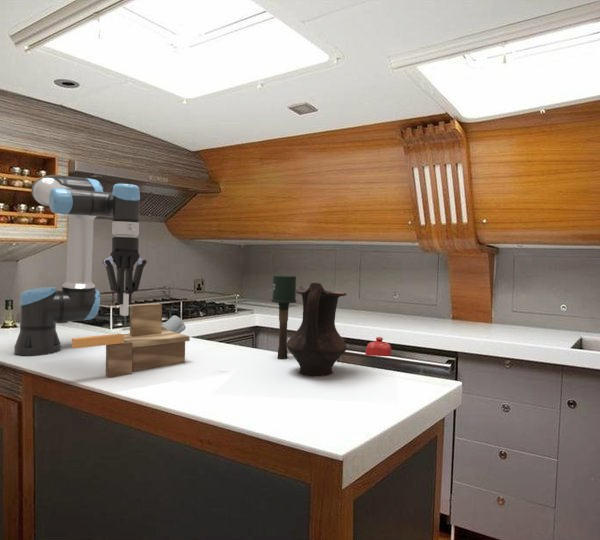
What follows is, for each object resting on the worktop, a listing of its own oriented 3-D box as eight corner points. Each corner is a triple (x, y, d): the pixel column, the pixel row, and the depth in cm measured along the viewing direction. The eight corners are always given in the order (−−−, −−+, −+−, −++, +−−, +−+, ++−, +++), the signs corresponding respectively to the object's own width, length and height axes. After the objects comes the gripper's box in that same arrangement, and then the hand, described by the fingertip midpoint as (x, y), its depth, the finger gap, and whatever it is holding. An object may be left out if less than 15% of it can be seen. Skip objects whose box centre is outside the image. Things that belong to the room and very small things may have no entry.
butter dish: (396, 358, 185) (397, 335, 184) (392, 365, 174) (393, 340, 174) (365, 356, 188) (366, 333, 188) (359, 362, 177) (360, 338, 177)
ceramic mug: (168, 342, 212) (156, 328, 212) (183, 330, 217) (171, 316, 217) (174, 337, 203) (162, 322, 203) (189, 325, 208) (178, 310, 208)
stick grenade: (281, 358, 178) (283, 274, 177) (299, 362, 173) (302, 276, 171) (264, 362, 171) (266, 275, 170) (283, 366, 166) (285, 276, 165)
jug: (291, 368, 164) (293, 277, 163) (347, 372, 161) (350, 279, 160) (278, 385, 143) (280, 280, 142) (342, 389, 140) (345, 283, 139)
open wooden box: (88, 367, 158) (89, 337, 157) (164, 357, 176) (164, 330, 175) (109, 377, 146) (109, 345, 146) (187, 365, 164) (188, 336, 164)
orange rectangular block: (71, 347, 141) (71, 338, 141) (120, 341, 151) (120, 333, 151) (74, 348, 139) (74, 339, 139) (123, 343, 149) (123, 334, 149)
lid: (109, 342, 163) (110, 304, 163) (165, 336, 177) (166, 301, 176) (131, 350, 151) (131, 309, 151) (189, 343, 165) (190, 306, 165)
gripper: (109, 235, 142) (107, 318, 143) (151, 237, 151) (150, 315, 152) (98, 235, 147) (97, 315, 149) (140, 237, 156) (139, 312, 157)
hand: (124, 315), depth 150 cm, fingers closed
